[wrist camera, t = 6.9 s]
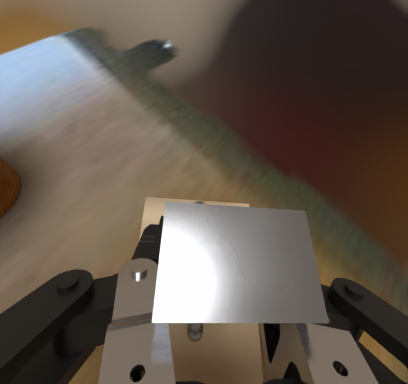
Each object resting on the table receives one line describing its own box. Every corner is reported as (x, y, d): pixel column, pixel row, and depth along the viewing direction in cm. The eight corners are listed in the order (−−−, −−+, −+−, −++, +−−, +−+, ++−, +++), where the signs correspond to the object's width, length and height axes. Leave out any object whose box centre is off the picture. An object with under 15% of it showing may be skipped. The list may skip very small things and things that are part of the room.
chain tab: (178, 202, 16) (179, 78, 6) (219, 204, 17) (279, 91, 7) (166, 339, 12) (123, 566, 2) (221, 339, 13) (374, 538, 3)
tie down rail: (148, 203, 18) (141, 183, 14) (243, 209, 19) (259, 192, 15) (75, 672, 8) (1, 958, 5) (273, 638, 9) (332, 858, 6)
